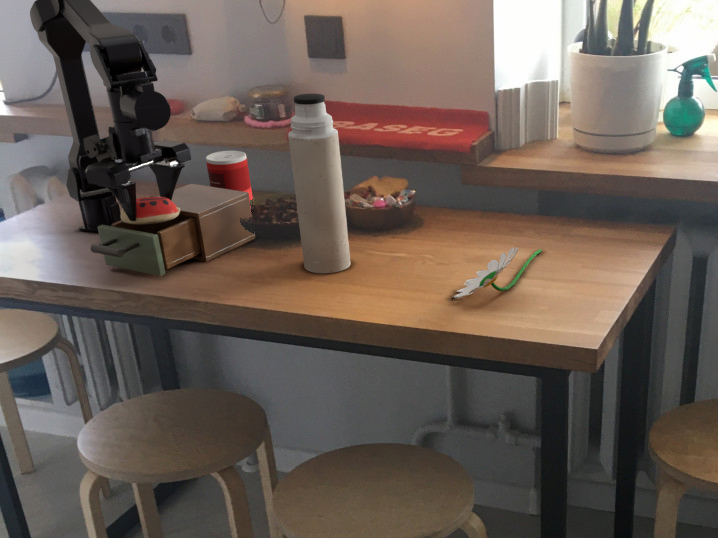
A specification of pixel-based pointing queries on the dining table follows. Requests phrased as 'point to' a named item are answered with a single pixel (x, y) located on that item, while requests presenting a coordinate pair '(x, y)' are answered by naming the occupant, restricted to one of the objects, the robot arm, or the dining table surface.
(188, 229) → the drawer
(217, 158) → the canned food
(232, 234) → the cabinet
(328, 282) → the dining table surface
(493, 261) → the flower
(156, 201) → the ladybug figurine
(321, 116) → the thermos bottle
